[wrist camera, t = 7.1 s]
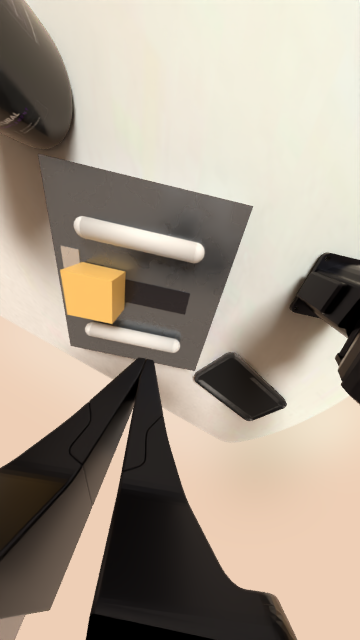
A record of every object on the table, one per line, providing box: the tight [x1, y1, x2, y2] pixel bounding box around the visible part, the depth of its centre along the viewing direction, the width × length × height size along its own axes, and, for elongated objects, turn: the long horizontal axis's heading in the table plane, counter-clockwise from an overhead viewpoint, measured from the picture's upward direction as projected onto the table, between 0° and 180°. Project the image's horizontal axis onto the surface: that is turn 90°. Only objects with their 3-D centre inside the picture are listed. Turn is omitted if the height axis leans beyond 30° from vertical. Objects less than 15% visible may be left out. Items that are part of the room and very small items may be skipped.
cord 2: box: [74, 216, 205, 263], centre depth 14 cm, size 11×2×2 cm, turn 79°
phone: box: [195, 352, 287, 421], centre depth 27 cm, size 8×1×15 cm
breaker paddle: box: [60, 262, 126, 324], centre depth 15 cm, size 4×4×3 cm
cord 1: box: [85, 322, 180, 353], centre depth 19 cm, size 11×2×2 cm, turn 79°
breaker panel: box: [38, 154, 253, 371], centre depth 18 cm, size 16×18×3 cm
